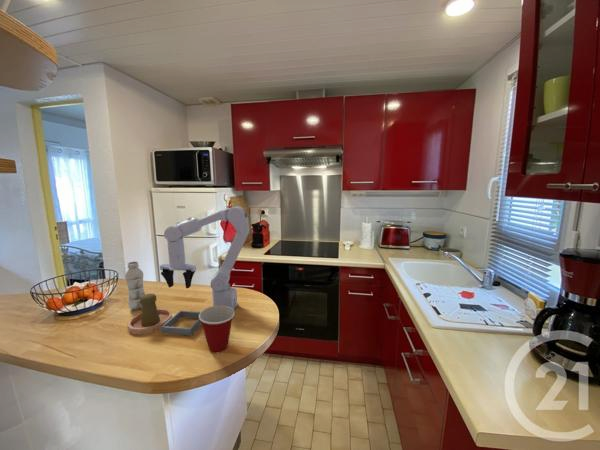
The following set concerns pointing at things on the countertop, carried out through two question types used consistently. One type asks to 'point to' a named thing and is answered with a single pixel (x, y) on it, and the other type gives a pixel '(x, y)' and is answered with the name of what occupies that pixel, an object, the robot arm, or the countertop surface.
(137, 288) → the plastic bottle
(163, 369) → the countertop surface
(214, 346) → the plastic cup
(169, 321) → the parts tray
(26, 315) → the countertop surface
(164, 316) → the dish
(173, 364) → the countertop surface
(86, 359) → the countertop surface
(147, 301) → the olive rounded piece
